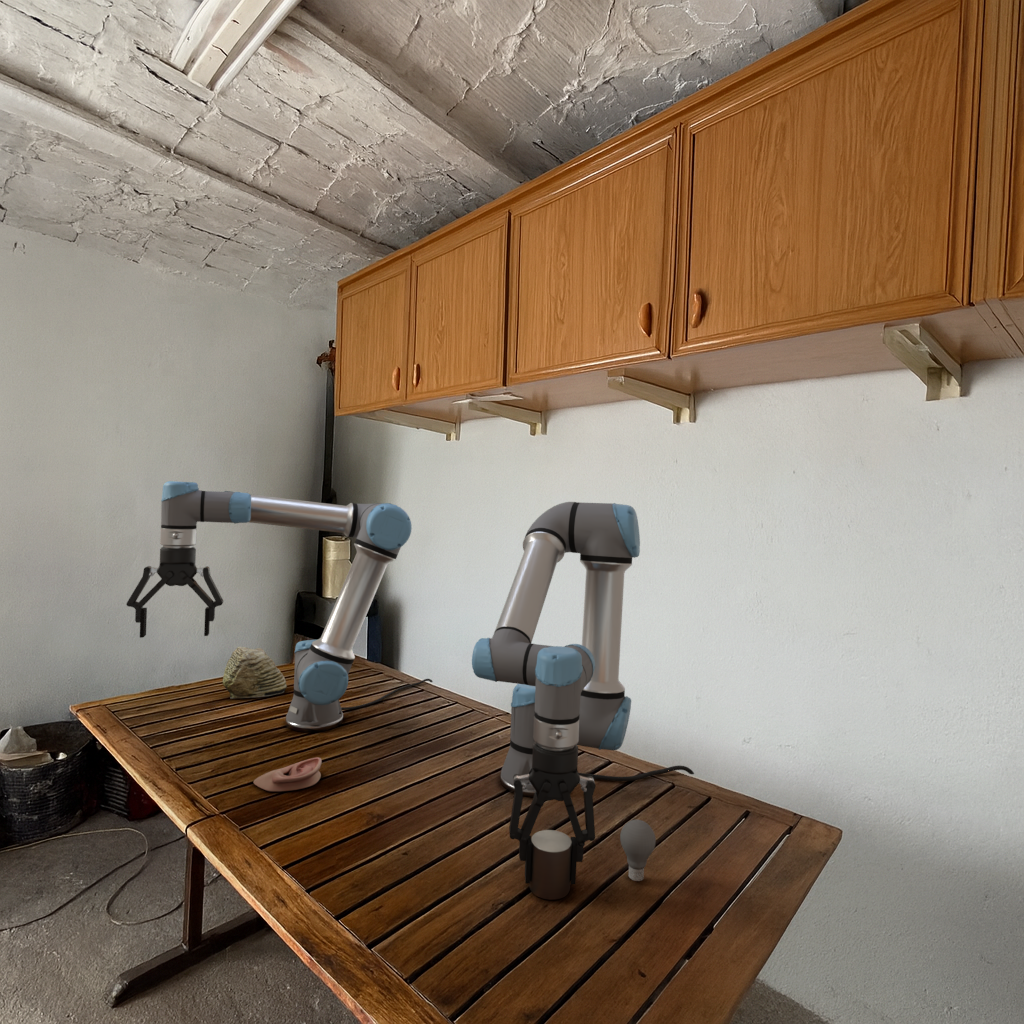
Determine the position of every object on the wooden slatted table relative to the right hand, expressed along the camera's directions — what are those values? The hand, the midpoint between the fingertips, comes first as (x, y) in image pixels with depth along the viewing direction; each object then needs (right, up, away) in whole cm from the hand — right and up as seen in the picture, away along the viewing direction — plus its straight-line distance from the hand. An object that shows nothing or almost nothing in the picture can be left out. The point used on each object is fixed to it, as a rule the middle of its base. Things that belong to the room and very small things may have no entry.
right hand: (549, 878), depth 106 cm
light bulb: (+15, -2, +3) cm, 16 cm away
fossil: (-87, +4, +92) cm, 127 cm away
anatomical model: (-56, +1, +35) cm, 66 cm away
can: (0, -1, 0) cm, 1 cm away
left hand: (-86, +32, +45) cm, 102 cm away
